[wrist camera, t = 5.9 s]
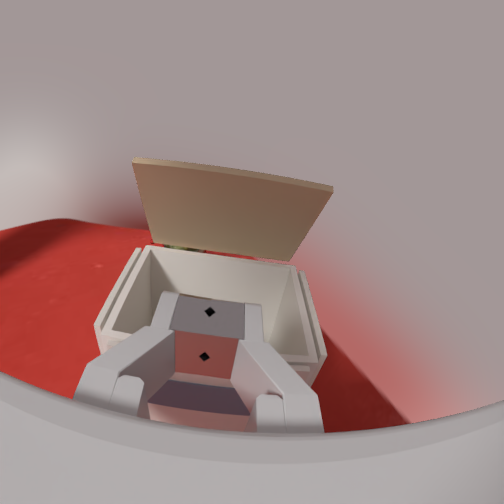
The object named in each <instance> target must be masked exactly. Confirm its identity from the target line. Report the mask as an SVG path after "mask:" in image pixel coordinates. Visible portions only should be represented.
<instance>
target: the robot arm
mask: <svg viewBox="0 0 504 504" xmlns="http://www.w3.org/2000/svg"><path fill="white" fill-rule="evenodd" d="M175 372H179V373H186V374H194V375H203V376H209V377H216V378H223V379H230V381H231V383H232V385H233V386H234V388H235V390H236V391H237V393H238V394H239V396H240V398H241V399H242V401H243V403H244V404H245V406H246V407H247V409H248V410H249V412H250V416H249V419H248V422H247V424H246V427H245V429H244V432H238V431H226V430H216V429H207V428H199V427H191V426H184V425H178V424H172V423H166V422H160V421H155V420H151V419H150V413H149V408H148V402H147V401H148V400H149V399H150V398H151V397H152V396H153V395H154V394H155V393H156V392H157V391H158V390H159V389H160V388H161V387H162V386H163V385H164V384H165V383H166V382H167V381H168V380H169V379H170V378H171V377H172V376H173V375H174V374H175ZM0 504H504V400H503V401H500V402H497V403H494V404H490V405H487V406H484V407H481V408H477V409H474V410H470V411H467V412H463V413H459V414H455V415H451V416H446V417H443V418H438V419H433V420H428V421H423V422H418V423H412V424H406V425H399V426H393V427H385V428H377V429H369V430H358V431H346V432H331V433H324V427H323V422H322V416H321V411H320V405H319V400H318V395H317V394H316V393H315V392H314V391H313V390H312V389H311V388H310V387H309V386H308V385H307V384H306V383H305V381H304V380H303V379H302V378H301V377H300V376H299V375H298V374H297V373H296V372H295V371H294V370H293V369H292V367H291V366H290V365H289V364H288V363H287V362H286V361H285V360H284V359H283V358H282V357H281V355H280V354H279V353H278V352H277V351H276V350H275V349H274V348H273V347H272V345H271V344H270V343H267V342H264V333H263V319H262V306H261V304H256V303H246V302H244V303H242V302H234V301H226V300H218V299H212V298H206V297H200V296H194V295H188V294H182V293H180V294H179V293H175V292H169V291H163V292H162V294H161V297H160V299H159V302H158V305H157V308H156V311H155V314H154V317H153V320H152V323H151V326H144V327H143V328H141V329H140V330H138V331H137V332H135V333H134V334H132V335H130V336H129V337H127V338H126V339H124V340H123V341H121V342H120V343H118V344H117V345H115V346H114V347H112V348H111V349H109V350H108V351H106V352H105V353H103V354H101V355H100V356H98V357H97V358H95V359H94V360H92V361H91V362H89V363H88V364H87V365H86V368H85V370H84V372H83V375H82V377H81V379H80V382H79V384H78V387H77V389H76V391H75V394H74V396H73V399H70V398H67V397H64V396H61V395H58V394H55V393H52V392H49V391H47V390H44V389H41V388H39V387H36V386H34V385H31V384H29V383H26V382H24V381H21V380H19V379H17V378H14V377H12V376H10V375H8V374H6V373H3V372H1V371H0Z"/></svg>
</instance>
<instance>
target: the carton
mask: <svg viewBox="0 0 504 504" xmlns="http://www.w3.org/2000/svg"><path fill="white" fill-rule="evenodd" d="M163 291H169V292H175V293H179V294H180V293H182V294H188V295H194V296H200V297H206V298H212V299H218V300H226V301H234V302H242V303H244V302H246V303H256V304H261V306H262V319H263V333H264V342H267V343H270V344H271V345H272V347H273V348H274V349H275V350H276V351H277V352H278V353H279V354H280V355H281V357H282V358H283V359H284V360H285V361H286V362H287V363H288V364H289V365H290V366H291V367H292V369H293V370H294V371H295V372H296V373H297V374H298V375H299V376H300V377H301V378H302V379H303V380H304V381H305V383H306V384H307V385H308V386H309V387H311V386H312V384H313V382H314V380H315V378H316V376H317V375H318V373H319V371H320V369H321V367H322V365H323V363H324V361H325V359H326V357H327V352H326V348H325V344H324V340H323V336H322V333H321V329H320V325H319V322H318V318H317V314H316V311H315V307H314V303H313V300H312V296H311V293H310V289H309V286H308V282H307V279H306V275H305V272H304V271H301V270H300V271H299V274H297V270H296V266H293V265H285V264H279V263H271V262H264V261H256V260H249V259H242V258H235V257H227V256H220V255H213V254H206V253H199V252H192V251H184V250H177V249H170V248H163V247H156V246H149V245H146V247H145V248H144V250H143V252H142V254H141V248H136V249H135V251H134V253H133V254H132V256H131V258H130V259H129V261H128V263H127V265H126V266H125V268H124V270H123V271H122V273H121V275H120V277H119V278H118V280H117V282H116V284H115V286H114V287H113V289H112V291H111V293H110V295H109V296H108V298H107V300H106V302H105V304H104V306H103V308H102V310H101V311H100V313H99V315H98V317H97V319H96V321H95V323H94V328H95V333H96V337H97V341H98V345H99V349H100V352H101V354H103V353H105V352H106V351H108V350H109V349H111V348H112V347H114V346H115V345H117V344H118V343H120V342H121V341H123V340H124V339H126V338H127V337H129V336H130V335H132V334H134V333H135V332H137V331H138V330H140V329H141V328H143V327H144V326H151V323H152V320H153V317H154V314H155V311H156V308H157V305H158V302H159V299H160V297H161V294H162V292H163ZM147 402H148V408H149V413H150V419H151V420H155V421H160V422H166V423H172V424H178V425H184V426H191V427H199V428H207V429H216V430H226V431H238V432H244V429H245V427H246V424H247V422H248V419H249V416H250V412H249V410H248V409H247V407H246V406H245V404H244V403H243V401H242V399H241V398H240V396H239V394H238V393H237V391H236V390H235V388H234V386H233V385H232V383H231V381H230V379H223V378H216V377H209V376H203V375H194V374H186V373H179V372H175V374H174V375H173V376H172V377H171V378H170V379H169V380H168V381H167V382H166V383H165V384H164V385H163V386H162V387H161V388H160V389H159V390H158V391H157V392H156V393H155V394H154V395H153V396H152V397H151V398H150V399H149V400H148V401H147Z"/></svg>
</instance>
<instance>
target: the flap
mask: <svg viewBox="0 0 504 504" xmlns="http://www.w3.org/2000/svg"><path fill="white" fill-rule="evenodd" d="M132 165H133V169H134V173H135V177H136V181H137V185H138V189H139V193H140V196H141V200H142V204H143V207H144V211H145V215H146V218H147V221H148V225H149V229H150V232H151V235H152V239H153V242H154V243H160V244H167V245H174V246H181V247H188V248H195V249H202V250H209V251H216V252H224V253H231V254H238V255H245V256H253V257H260V258H267V259H275V260H282V261H290V259H291V258H292V256H293V254H294V253H295V251H296V250H297V248H298V247H299V245H300V244H301V242H302V241H303V239H304V238H305V236H306V234H307V233H308V231H309V230H310V228H311V227H312V225H313V224H314V222H315V220H316V219H317V217H318V216H319V214H320V213H321V211H322V210H323V208H324V206H325V205H326V203H327V202H328V200H329V199H330V197H331V195H332V194H333V186H329V185H324V184H319V183H314V182H309V181H304V180H299V179H294V178H288V177H283V176H277V175H271V174H265V173H259V172H253V171H247V170H240V169H233V168H227V167H220V166H211V165H204V164H196V163H188V162H179V161H170V160H160V159H149V158H138V157H134V159H133V161H132Z"/></svg>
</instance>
